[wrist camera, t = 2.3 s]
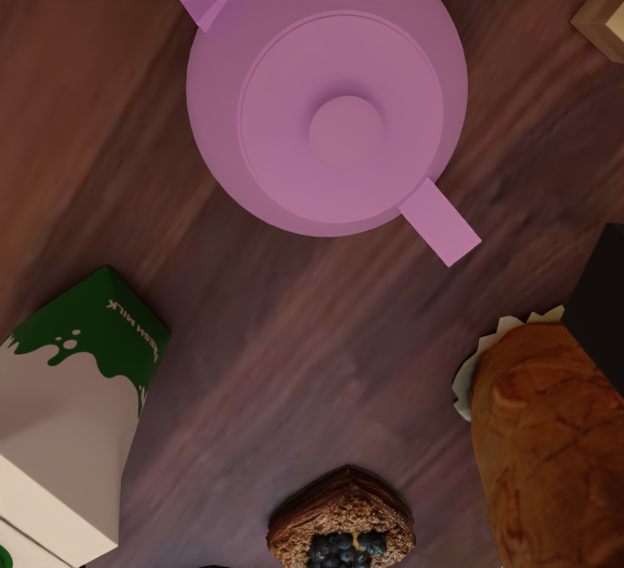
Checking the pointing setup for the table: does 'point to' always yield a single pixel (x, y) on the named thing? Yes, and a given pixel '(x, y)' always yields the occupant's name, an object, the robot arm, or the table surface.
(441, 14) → the teapot
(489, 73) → the table surface
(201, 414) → the table surface
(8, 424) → the soya milk
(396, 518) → the pastry
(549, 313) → the vase
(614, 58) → the cube
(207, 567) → the wine bottle
